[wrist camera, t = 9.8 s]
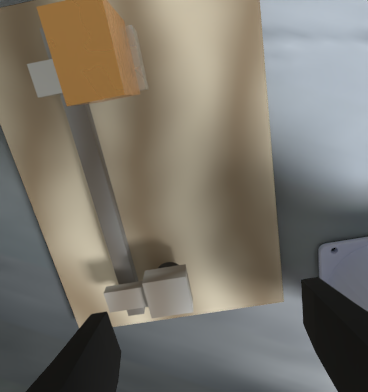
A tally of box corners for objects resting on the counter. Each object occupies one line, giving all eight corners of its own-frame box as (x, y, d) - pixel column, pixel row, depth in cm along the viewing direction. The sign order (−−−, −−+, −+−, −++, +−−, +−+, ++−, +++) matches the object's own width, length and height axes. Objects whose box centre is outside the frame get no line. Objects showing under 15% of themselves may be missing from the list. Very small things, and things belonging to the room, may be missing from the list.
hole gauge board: (251, -40, 16) (270, -78, 12) (279, 293, 23) (296, 328, 19) (-29, 21, 16) (-85, 2, 13) (84, 322, 24) (68, 361, 20)
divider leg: (139, 31, 16) (109, -10, 9) (151, 93, 17) (133, 93, 10) (39, 51, 16) (-52, 25, 10) (58, 111, 17) (-13, 121, 11)
